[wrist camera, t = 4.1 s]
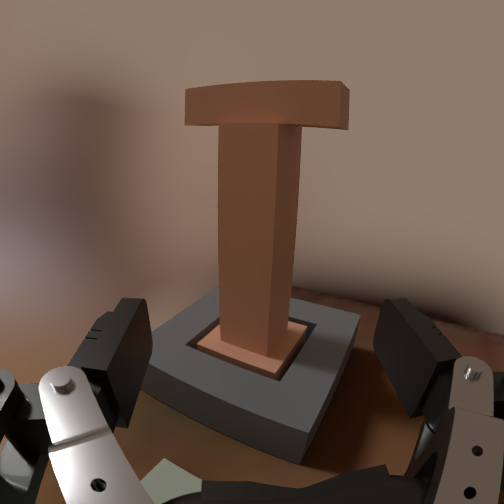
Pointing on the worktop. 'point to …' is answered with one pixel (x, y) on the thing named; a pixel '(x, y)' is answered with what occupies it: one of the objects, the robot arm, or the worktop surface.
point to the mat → (169, 482)
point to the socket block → (252, 378)
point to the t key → (260, 210)
